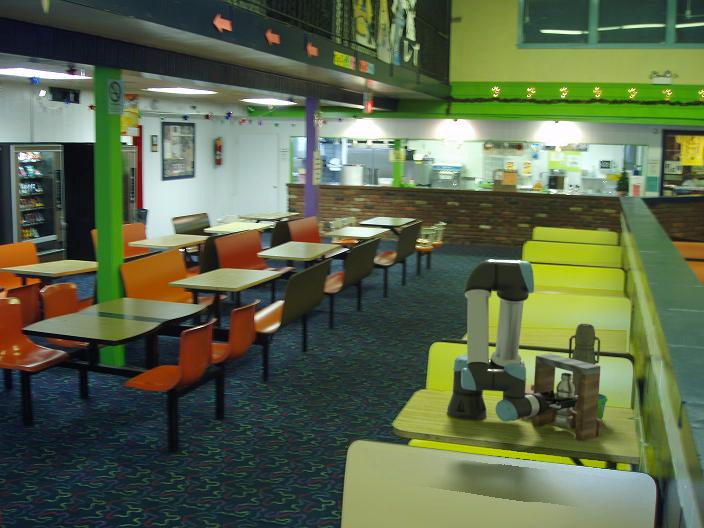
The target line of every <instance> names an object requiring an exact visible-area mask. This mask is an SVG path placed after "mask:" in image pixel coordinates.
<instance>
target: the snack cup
mask: <svg viewBox="0 0 704 528" xmlns="http://www.w3.org/2000/svg"><path fill="white" fill-rule="evenodd" d="M607 402H608V396H607V395H604V394H602V393H599V398H598V413H597V418H598V419H602V420H603V417H604V413H605V408H606V407H605V406H606V403H607Z"/></svg>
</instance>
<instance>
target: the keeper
mask: <svg viewBox="0 0 704 528" xmlns="http://www.w3.org/2000/svg"><path fill="white" fill-rule="evenodd" d="M534 360H535V363H534V365H535V366H534V384H533V385H534V394H535V393H542V392H546V391H548V392H549V393H551V390H553V391H554V392H555V382H556V381H555V380H556V379H555V377H556V368H557V369H560V370H564V371H568V372H571V373H573V372H575V373H579V382H578V398H577V412H576V411H573V410H572V415H573V424H572V426H571V428H570V429H573V430H574V429H575V432H574V433H575V434H574V440H576V441H580V442H585V441H588V440H592V439H596V438H597V437H598V438H599V437H602V436H603V428H604V427H603V423H604V419H603V418H602V419H598V418H597V413H598V398H599V394H600V393H599V392H600V380H601V368H602V367H601V365H598V364H595V365H594V364H590V363H586V362H582V361H578V360H574V359H570V358H569V357H565V356H562V355H557V354H555V353H545V354H538V355H535V359H534ZM555 414H556V408H550V409H547V410H546V411H545V412H544V413H543V414H540V415H534V416H531V425H533V426H537V427H541V426H544V425H549V424H553V423H555V420H554V419H555Z"/></svg>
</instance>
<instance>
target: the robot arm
mask: <svg viewBox="0 0 704 528" xmlns="http://www.w3.org/2000/svg"><path fill="white" fill-rule="evenodd" d="M534 280H535V278H534V270H533V266H532V263H531V262H530V261H528V260H527V261H525V260H519V259H517V260H515V259H514V260H509V259H486V260H483V261H481V262H479V263H477V264H476V265H475V266H474V267H473V269H472V270H471V271H470V273H469V274H468V276H467V278H466V281H465V285H464V297H465V298H466V299H467V315H466V317H467V321H466V322H467V327H466V329H467V333H466V341H467V342H466V349H467V350H466V351H467V352H466V353H465V354H461V355H459V356H457V357H456V358H455V359H454V361H453V363H454V364H453V369H452V371H453V380H452V382H453V383H452V395H451V397H450V400H449V403H448V405H447V411H446V412H447V415H448V416H450V417H452V418H456V419H459V420H461V419H462V420H468V421H469V420H473V421H474V420H481V419H484V418H486V417H487V407H486V403H485V399H484V391H491V392H502V399H501V400H499V401H498V402H497V403H496V405H495V414H496V417H498V419H499V420H501V421H503V422H513V421H517V420H521V419H528V418H531V417H532V416H534V415H540V414H543V413H544V412H545V411H546V410H547V409H550V408H556V410H561V409H566V408H571V407H575V405H576V403H577V398H578V395H576V396H571V397H570V398H563V399H557V391H555V390H554V391H553V390H551V393H549V392H548V391H546V392H542V393H535V394H530V395H525V386H527V368H526V364H525V362H524V361H523V360H522V357H521V355H520V354H519V347H520V337H521V330H522V320H523V319H522V318H523V313H524V312H523V309H524V302H525V301H527V300H528V299H529V296H530V295H529V294H533V293H534V291H535V281H534ZM492 292H496V296H497V297H498V299H499V300H500V301H499V310H498V321H497V329H496V330H497V332H496V342H495V351H493V352H492V353H491V355H490V351H489V349H490V343H489V342H490V341H489V340H490V337H489V336H490V334H489V333H490V332H489V331H490V327H489V326H490V324H489V323H490V322H489V321H490V320H489V317H490V314H489V311H490V310H489V307H490V303H489V299H490V298H491V297H492Z"/></svg>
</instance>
